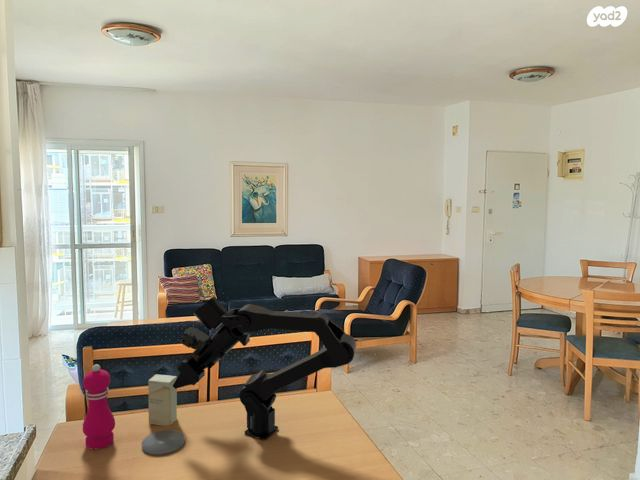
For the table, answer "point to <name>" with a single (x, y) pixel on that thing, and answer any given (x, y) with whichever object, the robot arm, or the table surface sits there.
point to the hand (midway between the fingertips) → (182, 379)
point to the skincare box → (162, 400)
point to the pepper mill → (98, 410)
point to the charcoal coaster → (163, 442)
